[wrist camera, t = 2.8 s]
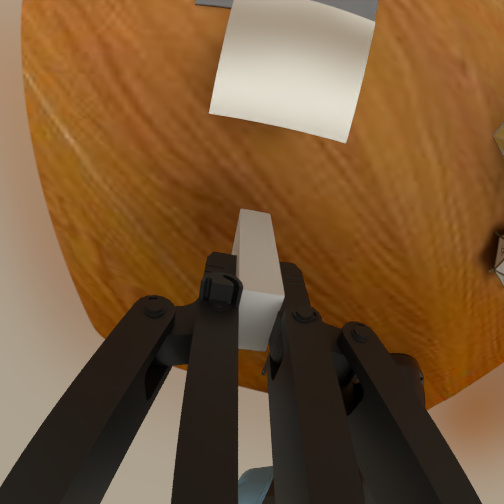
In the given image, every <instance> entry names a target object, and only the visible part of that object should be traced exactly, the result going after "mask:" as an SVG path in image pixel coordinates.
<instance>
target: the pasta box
mask: <svg viewBox="0 0 504 504" xmlns="http://www.w3.org/2000/svg"><path fill="white" fill-rule="evenodd" d="M493 137H494V139H495V141H496V143H497V145H498V147H499V149H500V151H501V153H502V154H503V156H504V122H503V123H502V125H501V126H500V127H499V129H498V130H497V131H496V133H495V134H494V135H493Z"/></svg>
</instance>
